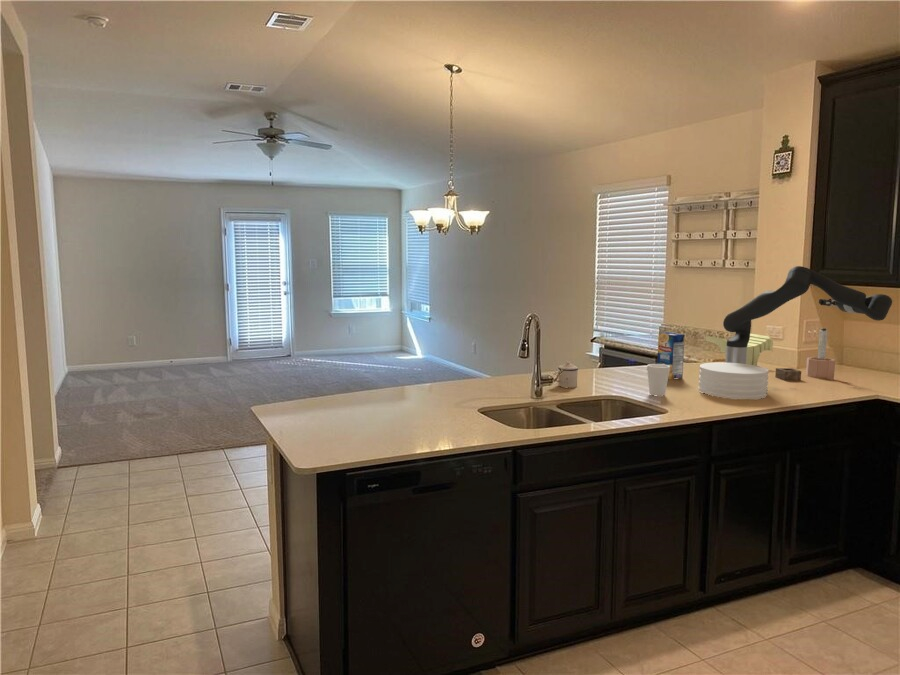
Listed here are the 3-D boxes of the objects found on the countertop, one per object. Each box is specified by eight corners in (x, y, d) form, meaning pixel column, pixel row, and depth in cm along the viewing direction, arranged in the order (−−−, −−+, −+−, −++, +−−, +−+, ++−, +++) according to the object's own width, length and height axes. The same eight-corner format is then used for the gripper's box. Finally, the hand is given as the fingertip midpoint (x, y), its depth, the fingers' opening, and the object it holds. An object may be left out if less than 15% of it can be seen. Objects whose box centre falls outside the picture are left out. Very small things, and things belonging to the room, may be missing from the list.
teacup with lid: (570, 383, 301) (571, 359, 299) (581, 387, 293) (582, 362, 291) (548, 385, 296) (549, 361, 295) (559, 389, 288) (559, 364, 287)
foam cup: (665, 398, 271) (666, 368, 270) (643, 395, 276) (644, 366, 274) (670, 394, 279) (672, 365, 278) (649, 391, 284) (650, 363, 282)
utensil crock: (808, 380, 311) (810, 360, 310) (804, 376, 322) (806, 356, 320) (835, 381, 307) (836, 361, 306) (830, 377, 318) (831, 357, 316)
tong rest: (784, 383, 303) (784, 371, 302) (775, 380, 311) (775, 368, 310) (800, 383, 303) (801, 371, 302) (791, 380, 311) (791, 368, 310)
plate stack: (760, 388, 292) (762, 364, 291) (772, 402, 265) (774, 375, 264) (695, 385, 300) (697, 361, 299) (701, 397, 273) (702, 371, 272)
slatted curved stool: (725, 373, 329) (727, 339, 327) (704, 368, 344) (706, 335, 342) (771, 370, 338) (773, 337, 336) (748, 365, 353) (750, 333, 351)
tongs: (815, 376, 316) (819, 328, 312) (820, 376, 316) (824, 328, 313) (819, 377, 313) (823, 328, 310) (824, 377, 313) (828, 328, 310)
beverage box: (671, 379, 312) (673, 335, 309) (656, 375, 322) (658, 332, 319) (682, 378, 314) (684, 334, 311) (667, 374, 324) (669, 332, 322)
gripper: (835, 312, 274) (813, 309, 290) (867, 312, 274) (843, 309, 290) (837, 295, 273) (814, 293, 289) (869, 295, 273) (845, 293, 289)
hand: (829, 301), depth 290 cm, fingers open, 8 cm apart
